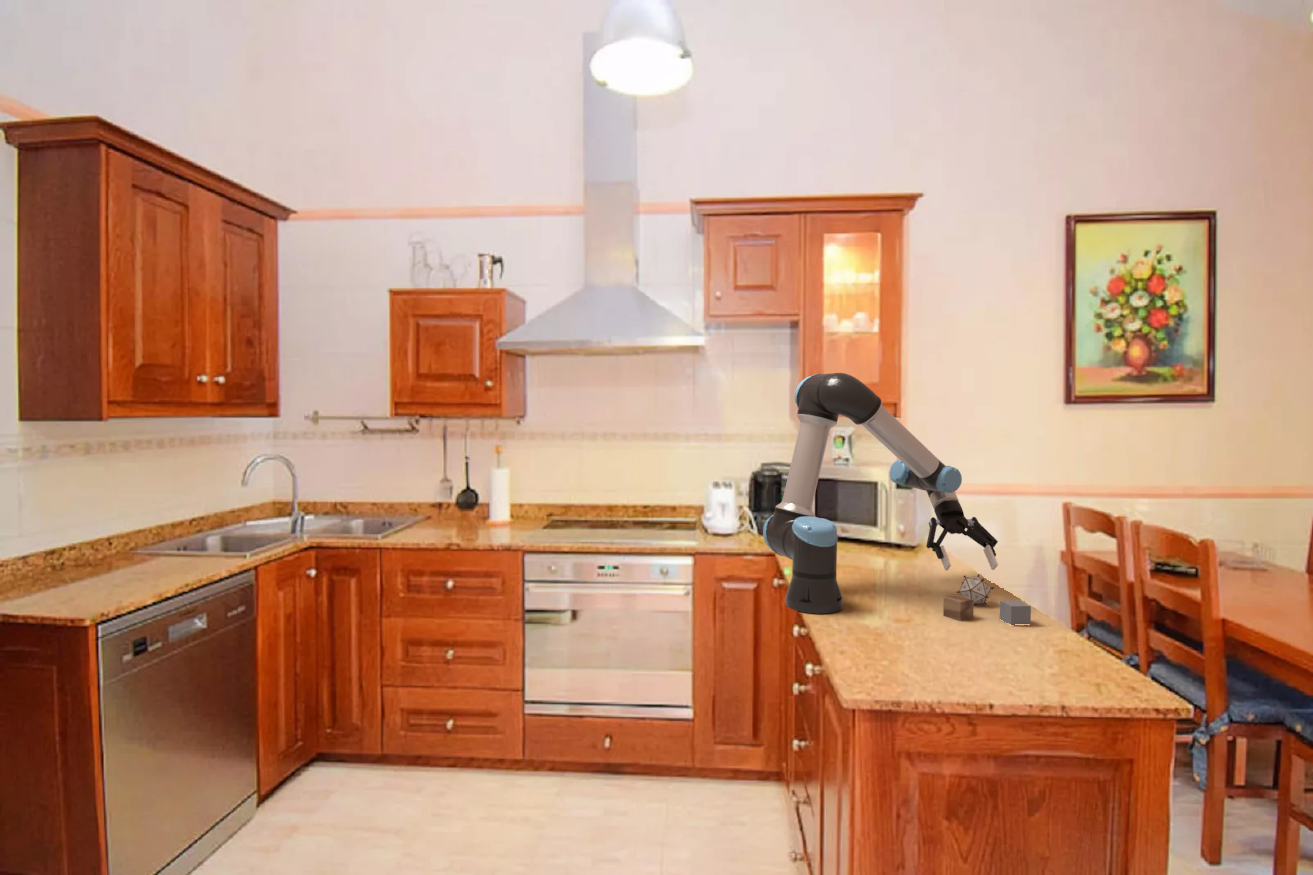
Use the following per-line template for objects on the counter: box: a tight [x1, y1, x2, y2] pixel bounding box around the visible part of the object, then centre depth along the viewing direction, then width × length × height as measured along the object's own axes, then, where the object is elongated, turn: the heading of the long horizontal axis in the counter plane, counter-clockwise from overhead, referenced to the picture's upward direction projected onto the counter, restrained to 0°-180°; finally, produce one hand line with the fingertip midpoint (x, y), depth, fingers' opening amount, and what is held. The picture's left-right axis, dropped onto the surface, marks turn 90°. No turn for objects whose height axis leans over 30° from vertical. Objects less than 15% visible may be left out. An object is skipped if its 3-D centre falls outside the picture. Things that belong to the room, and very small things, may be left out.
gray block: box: [999, 599, 1032, 625], centre depth 170 cm, size 5×5×5 cm
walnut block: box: [942, 594, 974, 622], centre depth 175 cm, size 5×5×5 cm
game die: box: [955, 573, 995, 606], centre depth 186 cm, size 9×8×10 cm
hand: (971, 567), depth 190 cm, fingers open, 13 cm apart
